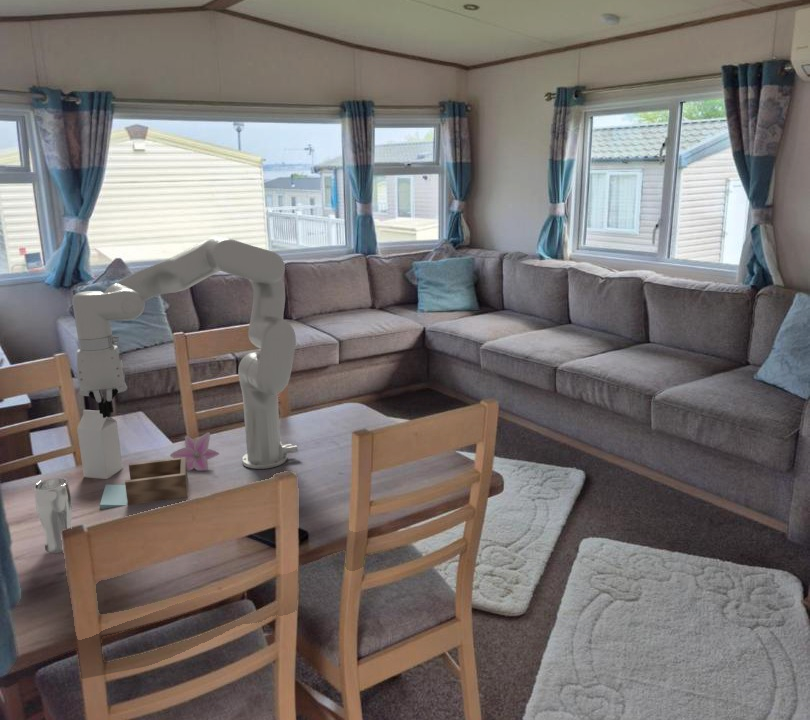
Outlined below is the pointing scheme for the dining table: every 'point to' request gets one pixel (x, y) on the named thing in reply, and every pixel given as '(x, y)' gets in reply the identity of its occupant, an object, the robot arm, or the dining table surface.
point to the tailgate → (113, 496)
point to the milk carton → (99, 445)
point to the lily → (196, 452)
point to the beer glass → (53, 510)
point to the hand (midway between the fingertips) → (107, 415)
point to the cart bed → (157, 481)
